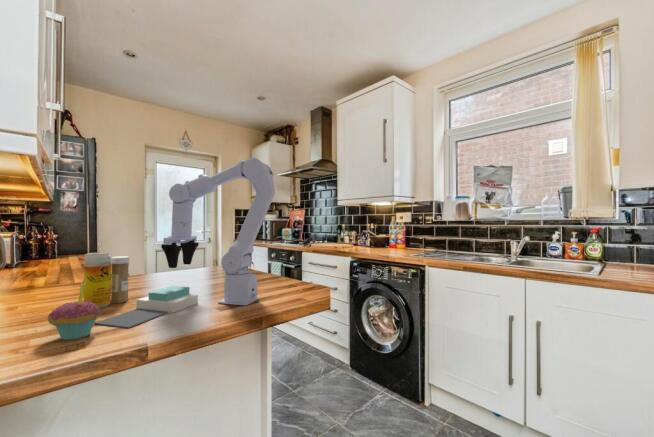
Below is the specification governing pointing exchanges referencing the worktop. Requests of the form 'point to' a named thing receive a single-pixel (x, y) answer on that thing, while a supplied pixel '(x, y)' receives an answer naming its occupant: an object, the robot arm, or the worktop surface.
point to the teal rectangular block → (168, 293)
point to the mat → (131, 318)
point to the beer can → (97, 278)
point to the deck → (168, 303)
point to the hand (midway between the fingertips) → (180, 266)
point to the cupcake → (75, 317)
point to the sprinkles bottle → (119, 279)
